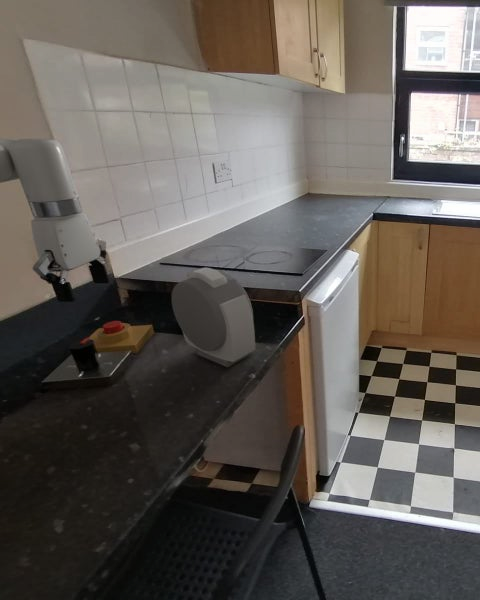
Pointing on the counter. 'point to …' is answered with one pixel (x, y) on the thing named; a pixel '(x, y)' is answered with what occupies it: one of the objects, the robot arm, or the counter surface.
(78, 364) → the dial
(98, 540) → the counter surface
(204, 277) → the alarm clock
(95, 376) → the dial plate
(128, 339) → the knob block
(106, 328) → the press knob
